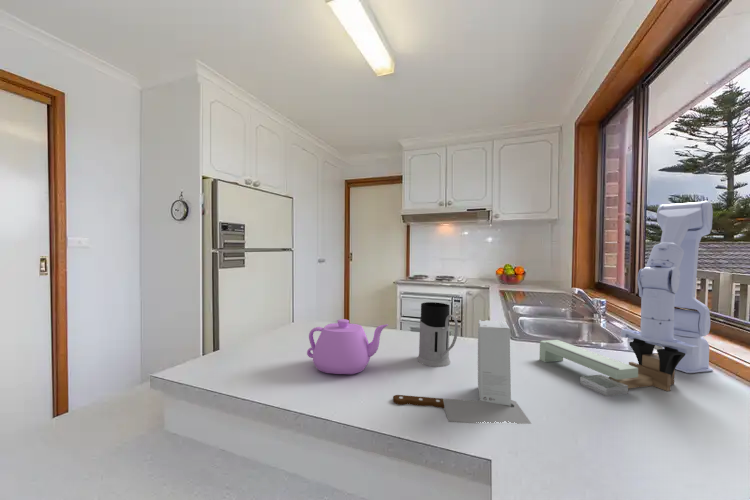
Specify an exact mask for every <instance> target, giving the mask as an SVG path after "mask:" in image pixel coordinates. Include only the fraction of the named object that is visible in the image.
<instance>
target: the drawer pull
mask: <svg viewBox="0 0 750 500" xmlns="http://www.w3.org/2000/svg"><path fill="white" fill-rule="evenodd" d="M564 359H566V360H569V361H570V362H573V363H575V364H578V365H581V366H583V367H584V368H587V369H590V370H591V371H595V372H598V373H599V374H601V375H604V376H606V377H608V378H609V377H612V378H614V379H626V378H636V377H638V368H637V367H634V366H631V365H629V363H625V362H622V361H619V360H616V359H613V358H611V357H608V356H605V355H603V354H599V353H596V352H594V351H591V350H588V349H584V348H582V347H579V346H576V345H573V344H571V343H568V342H565V341H562V340H559V339H550V340H548V339H547V340H539V360H540V361H542V362H543V363H550V362H562V361H564Z"/></svg>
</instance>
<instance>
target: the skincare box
mask: <svg viewBox="0 0 750 500" xmlns="http://www.w3.org/2000/svg"><path fill="white" fill-rule="evenodd" d="M477 321H478V323H477V325H478V327H477V387H478V388H477V389H478V397H479V401H486V402H491V403H496V404H502V405H507V406H508V407H512V406H511V400H512V388H511V387H512V385H511V381H512V380H511V341H510V340H511V333H510V332H511V328H510V326H509V325H508V323H507V322H506V321H505V320H504V321H503V320H487V319H486V320H485V319H484V320H483V319H478V320H477Z"/></svg>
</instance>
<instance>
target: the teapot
mask: <svg viewBox="0 0 750 500" xmlns="http://www.w3.org/2000/svg"><path fill="white" fill-rule="evenodd" d="M336 321H337V322H335V323H333V322H332V323H328V324H327V325H325V326H324V327H322V326H316V327H314V328H312V329H311V330H310V331H309V333H308V340H309V341H308V342H309V343H310V347H309V348H308V349H307V351H306V355H307V357H308V358H310V359H312V363H313V365H314V366H315V367H316V369H317V370H318V371H320V372H322V373H325V374H334V375H335V374H336V375H351V376H353V375H355V374H358V373H361V372H362V371H364V370H365V369H366V367H367V366H368V364H369V362H370V359H371V357H372V356H374V355H375V354H376V353H377V352H378V350H379V345H380V339H381V335H382V334H381V333H382V331H383V330H384V329H385V328H386V327H388V326H389V324H387V323H386V324H381V325H378V326H376V328H375V329H374V333H373V338H372V341H371V342H370V343H369V339H368V337H367V335H366V334H367V333H366V332H365V330H364V328H363V326H362V325H361V324H356V323H350V320H348V319H346V318H343V319H341V318H340V319H338V320H336ZM315 332H320V334H319V336H318V338H317V340H316V342H315V339H314V333H315ZM311 351H312V352H311Z"/></svg>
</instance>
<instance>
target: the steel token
mask: <svg viewBox="0 0 750 500" xmlns="http://www.w3.org/2000/svg"><path fill="white" fill-rule="evenodd" d="M579 380H580V385H582V386H584V387H585V388H588V389H590V390H592V391H594V392H597V394H598V393H599V394H601V395H603V396H605V397H612V396H618V395H620V396H621V395H627V394H629V388H628V385H625V384H623V383H620V382H618V381H615V380H613V379H611V378H609V376H607V375H604V374H594V375H592V374H591V375H584V376H583V375H582V376H580V379H579Z"/></svg>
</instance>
